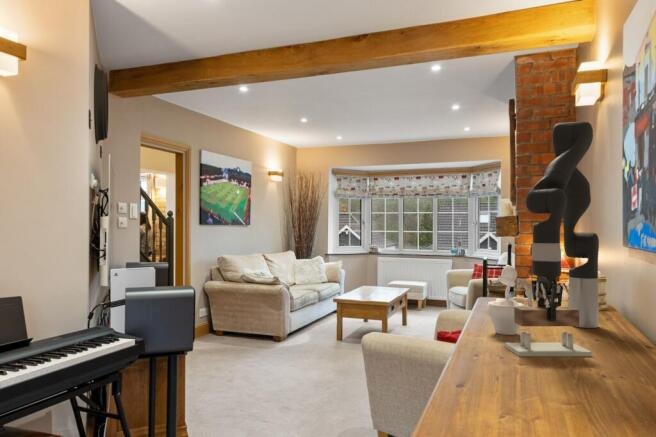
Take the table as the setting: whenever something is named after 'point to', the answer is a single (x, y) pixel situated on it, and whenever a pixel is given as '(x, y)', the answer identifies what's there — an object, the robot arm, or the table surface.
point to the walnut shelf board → (545, 316)
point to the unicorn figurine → (528, 288)
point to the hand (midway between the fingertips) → (546, 318)
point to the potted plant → (504, 305)
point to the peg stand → (547, 347)
